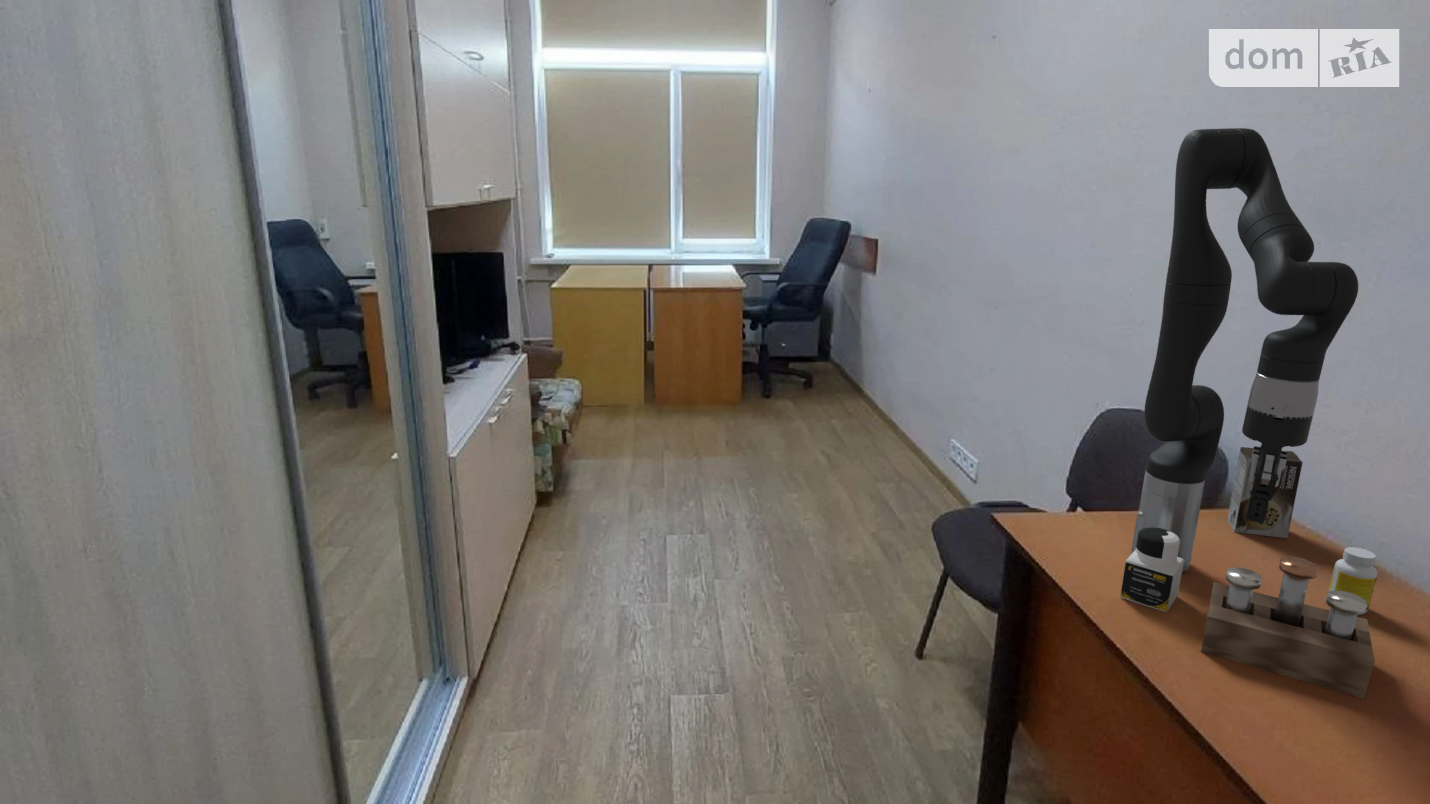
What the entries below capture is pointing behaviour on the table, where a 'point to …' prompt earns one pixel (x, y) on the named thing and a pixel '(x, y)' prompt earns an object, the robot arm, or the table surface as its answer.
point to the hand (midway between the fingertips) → (1254, 519)
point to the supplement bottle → (1355, 573)
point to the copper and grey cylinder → (1293, 589)
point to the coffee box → (1277, 507)
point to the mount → (1289, 643)
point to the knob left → (1241, 588)
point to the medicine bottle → (1153, 569)
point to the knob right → (1343, 613)
